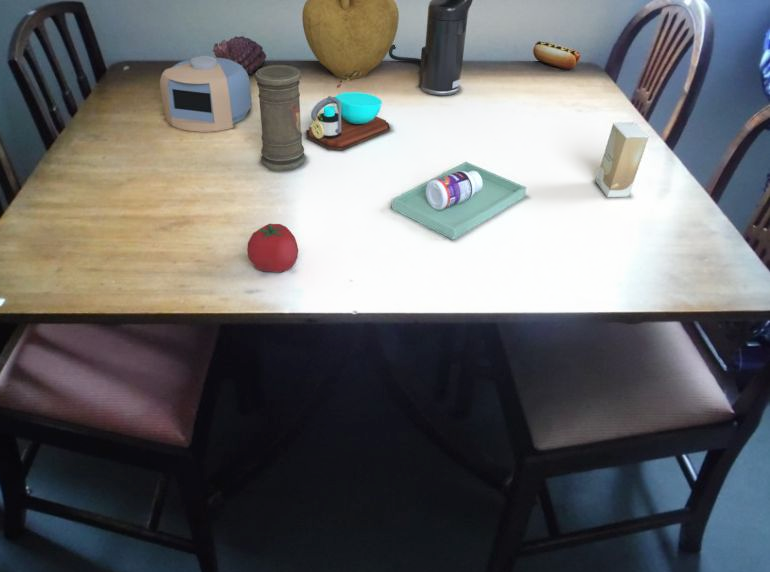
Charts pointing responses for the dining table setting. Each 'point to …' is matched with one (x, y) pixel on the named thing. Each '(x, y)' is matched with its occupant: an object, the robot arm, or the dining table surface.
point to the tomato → (273, 248)
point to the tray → (465, 214)
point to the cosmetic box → (621, 159)
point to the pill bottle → (453, 189)
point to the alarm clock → (205, 94)
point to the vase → (350, 33)
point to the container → (280, 117)
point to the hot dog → (556, 55)
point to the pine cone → (241, 52)
